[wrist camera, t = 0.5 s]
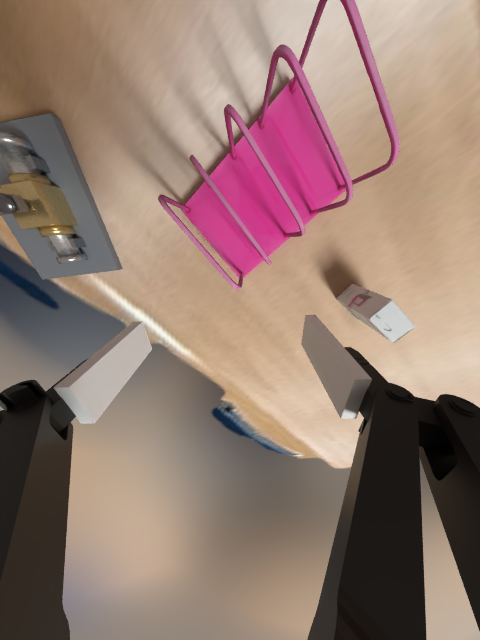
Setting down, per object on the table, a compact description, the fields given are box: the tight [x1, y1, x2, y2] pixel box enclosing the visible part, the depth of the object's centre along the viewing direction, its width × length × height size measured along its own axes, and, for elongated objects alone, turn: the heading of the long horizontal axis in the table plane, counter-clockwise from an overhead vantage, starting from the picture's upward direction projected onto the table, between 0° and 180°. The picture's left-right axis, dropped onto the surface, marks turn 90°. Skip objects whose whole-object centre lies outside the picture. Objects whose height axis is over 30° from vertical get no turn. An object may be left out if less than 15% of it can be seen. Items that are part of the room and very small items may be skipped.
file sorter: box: [158, 0, 400, 289], centre depth 26 cm, size 17×25×16 cm
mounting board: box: [0, 113, 122, 280], centre depth 33 cm, size 24×18×2 cm
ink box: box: [336, 284, 416, 343], centre depth 36 cm, size 9×5×12 cm, turn 51°
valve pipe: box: [0, 131, 88, 264], centre depth 30 cm, size 18×6×6 cm, turn 7°
